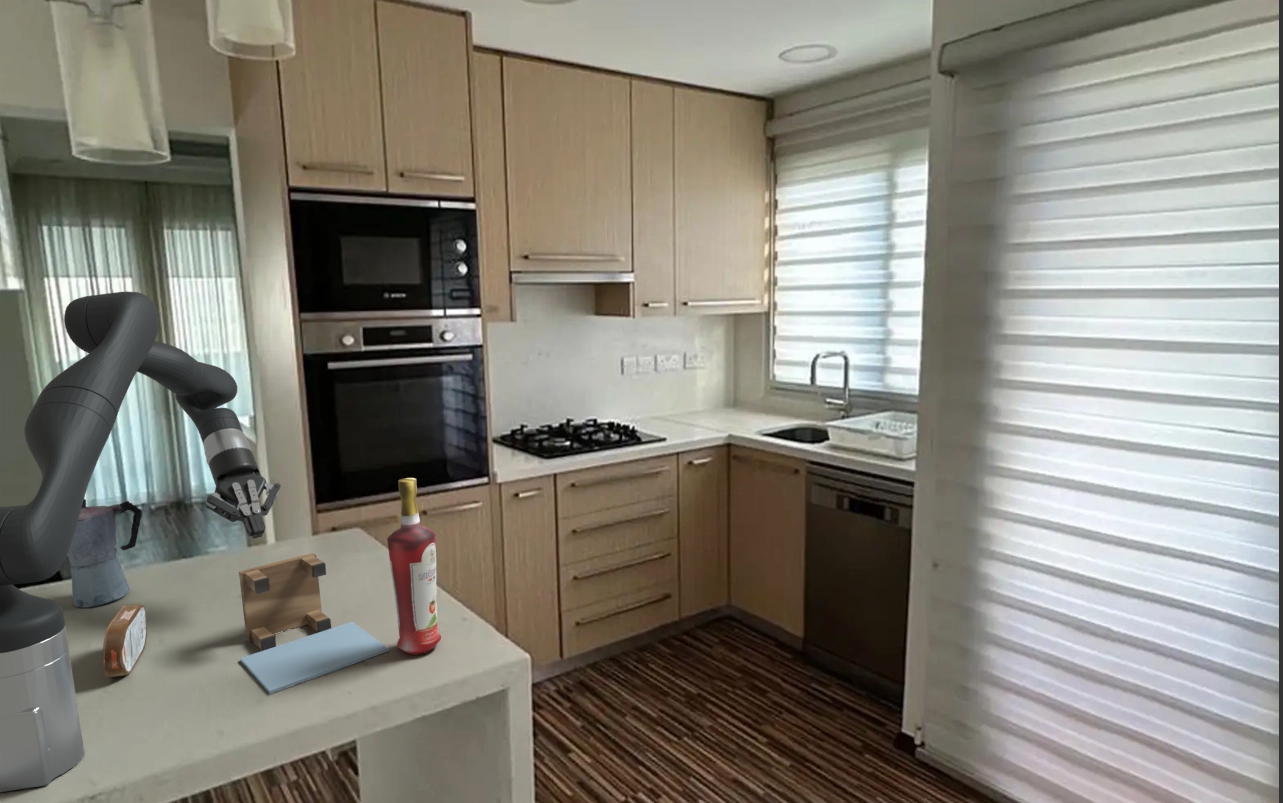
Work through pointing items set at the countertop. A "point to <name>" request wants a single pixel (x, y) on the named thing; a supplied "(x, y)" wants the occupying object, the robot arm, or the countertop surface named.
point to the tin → (124, 640)
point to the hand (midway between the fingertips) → (258, 535)
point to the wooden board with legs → (282, 598)
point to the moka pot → (99, 555)
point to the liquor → (414, 576)
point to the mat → (312, 656)
